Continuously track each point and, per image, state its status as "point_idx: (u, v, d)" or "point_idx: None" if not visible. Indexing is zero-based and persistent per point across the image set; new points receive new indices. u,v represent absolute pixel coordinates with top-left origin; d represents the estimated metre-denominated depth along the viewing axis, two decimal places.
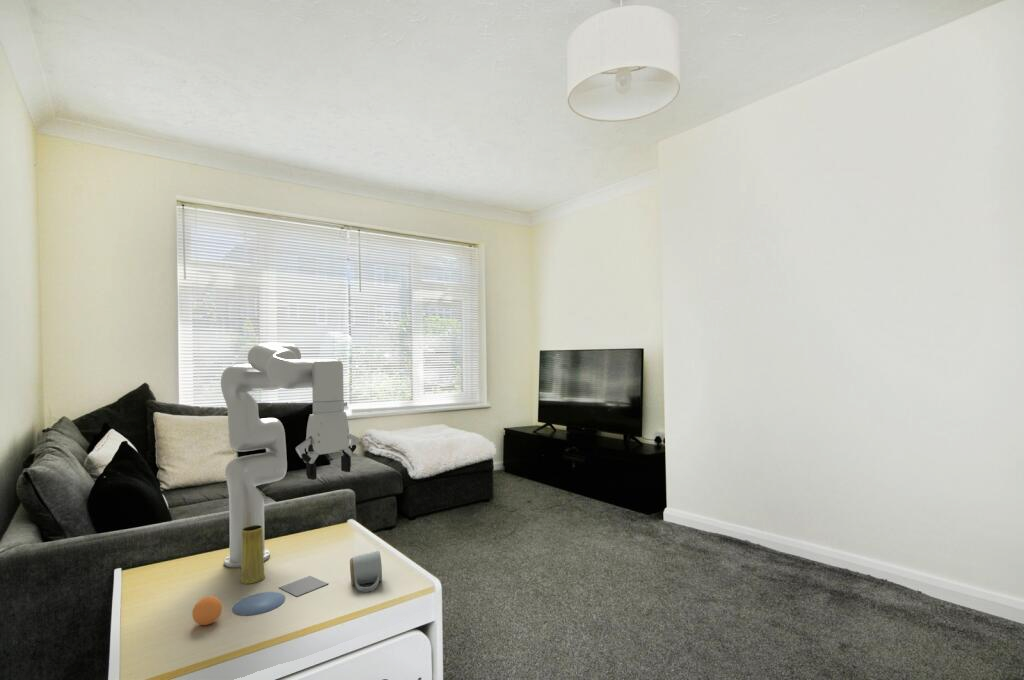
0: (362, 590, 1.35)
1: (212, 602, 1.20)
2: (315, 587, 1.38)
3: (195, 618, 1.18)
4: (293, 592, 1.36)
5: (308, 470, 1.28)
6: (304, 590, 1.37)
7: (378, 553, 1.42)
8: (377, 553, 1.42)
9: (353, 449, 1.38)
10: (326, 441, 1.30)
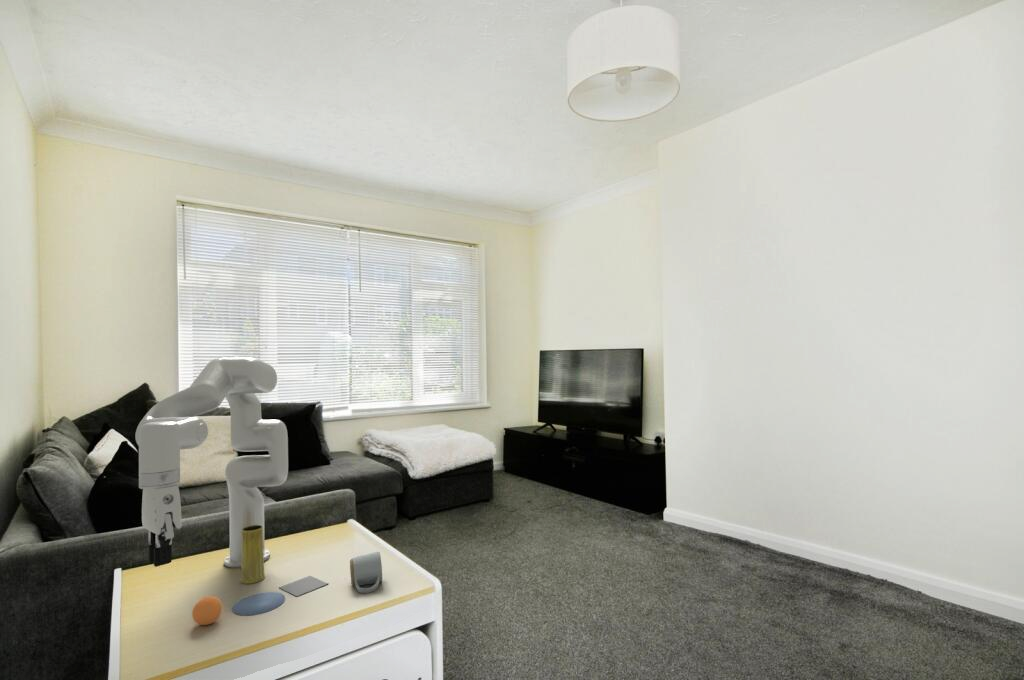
0: (362, 591, 1.35)
1: (212, 602, 1.20)
2: (315, 587, 1.38)
3: (195, 618, 1.18)
4: (293, 592, 1.36)
5: None
6: (304, 590, 1.37)
7: (378, 554, 1.41)
8: (377, 554, 1.41)
9: (161, 541, 1.11)
10: (144, 516, 1.14)
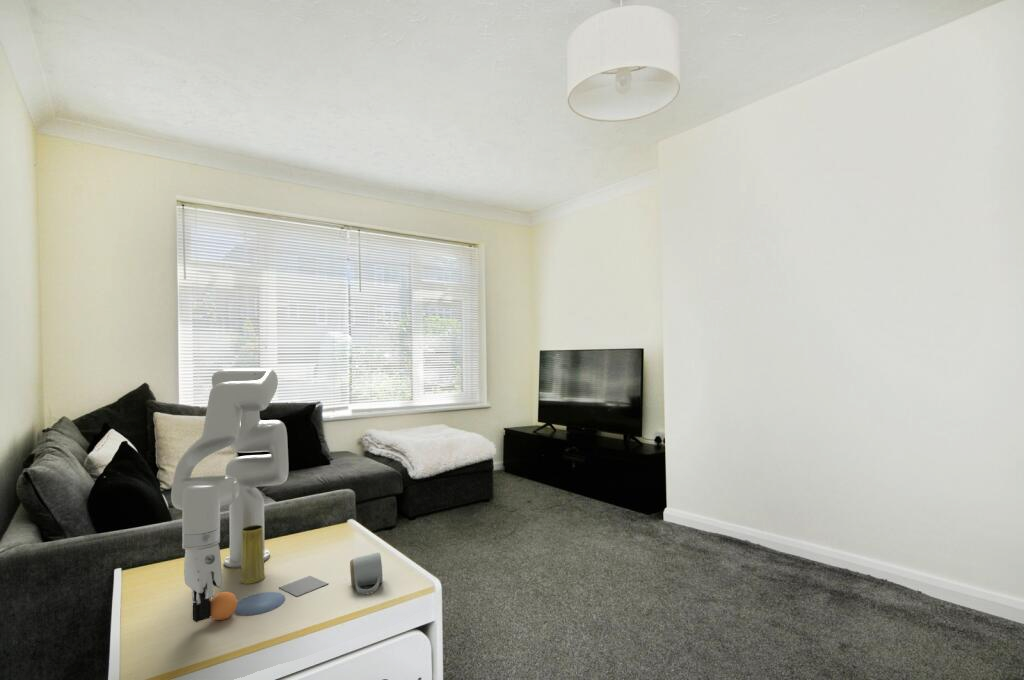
0: (362, 592, 1.34)
1: (234, 600, 1.23)
2: (315, 587, 1.38)
3: (214, 603, 1.21)
4: (293, 592, 1.36)
5: None
6: (304, 590, 1.37)
7: (378, 555, 1.41)
8: (377, 555, 1.41)
9: (201, 598, 1.18)
10: (186, 574, 1.20)
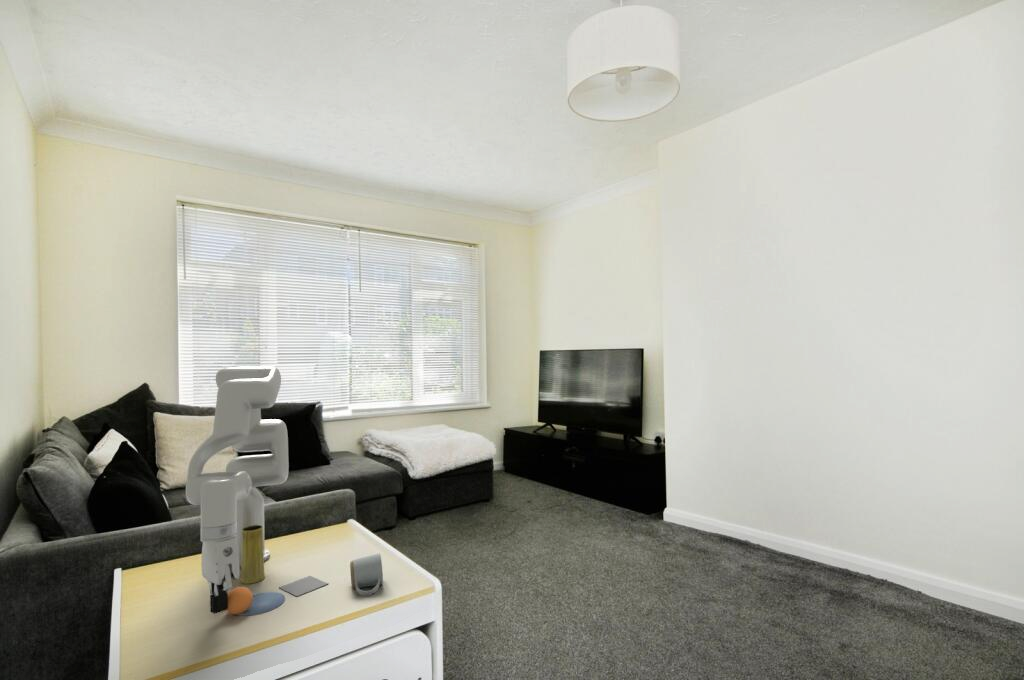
0: (363, 594, 1.33)
1: (251, 598, 1.26)
2: (315, 587, 1.38)
3: (234, 593, 1.24)
4: (293, 592, 1.36)
5: None
6: (304, 590, 1.37)
7: (379, 556, 1.40)
8: (378, 556, 1.40)
9: (219, 590, 1.20)
10: (204, 567, 1.22)
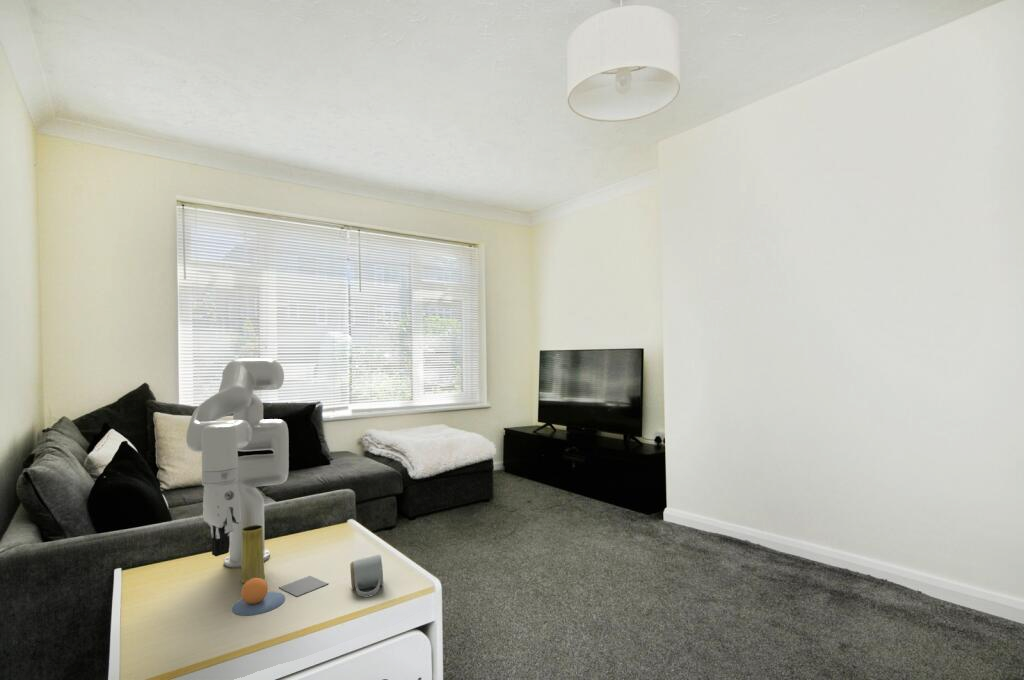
0: (363, 595, 1.32)
1: (264, 596, 1.30)
2: (315, 587, 1.38)
3: None
4: (293, 592, 1.36)
5: None
6: (304, 590, 1.37)
7: (379, 557, 1.39)
8: (378, 557, 1.39)
9: (221, 533, 1.22)
10: (206, 511, 1.24)
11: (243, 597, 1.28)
